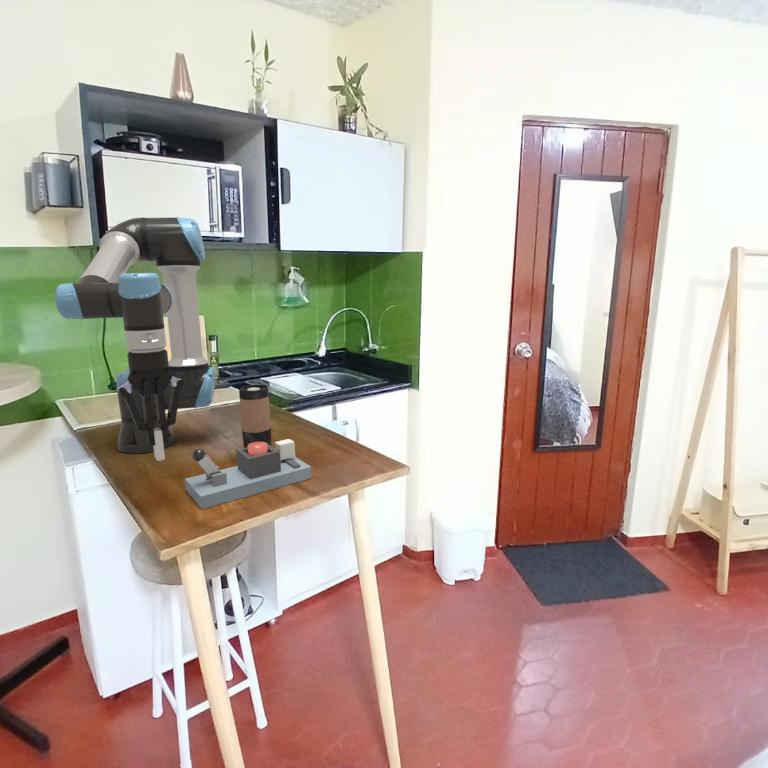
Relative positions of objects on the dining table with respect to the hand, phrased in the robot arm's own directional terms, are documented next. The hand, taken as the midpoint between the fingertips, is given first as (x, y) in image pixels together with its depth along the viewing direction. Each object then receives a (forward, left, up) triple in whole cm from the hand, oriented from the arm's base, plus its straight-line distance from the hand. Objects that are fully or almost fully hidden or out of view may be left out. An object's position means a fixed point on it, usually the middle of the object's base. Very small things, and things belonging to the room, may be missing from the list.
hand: (159, 458), depth 111 cm
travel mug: (-15, +28, -12) cm, 34 cm away
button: (0, +22, -8) cm, 23 cm away
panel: (0, +20, -12) cm, 23 cm away
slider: (-2, +30, -8) cm, 31 cm away
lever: (0, +12, -7) cm, 14 cm away
